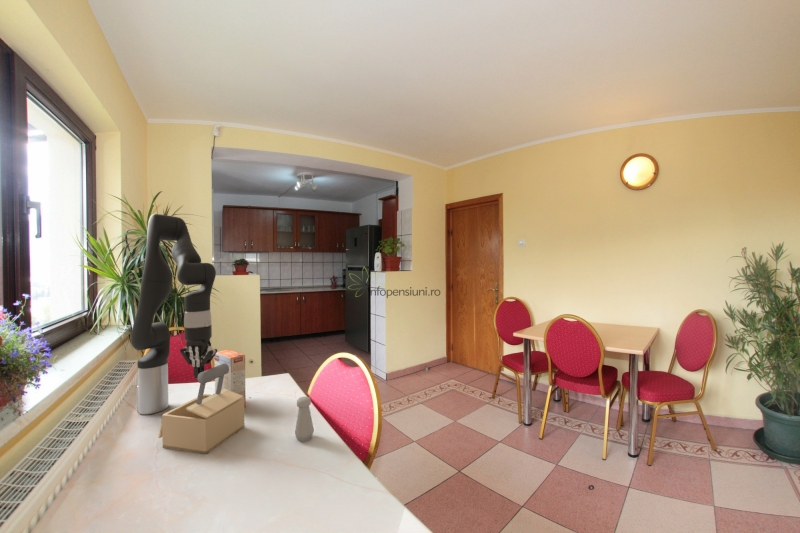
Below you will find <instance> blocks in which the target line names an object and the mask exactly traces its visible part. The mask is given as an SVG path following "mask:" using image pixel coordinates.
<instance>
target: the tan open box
mask: <svg viewBox="0 0 800 533" xmlns="http://www.w3.org/2000/svg"><path fill="white" fill-rule="evenodd" d="M211 395H212V394H210V393H209V394H208V393H207V394H206V393H204V394H203V399H205V398H207V397H209V396H211ZM197 398H198V396H196V397H195V398H193V399H190V400H189V401H187V402H185V403H183V404H181V405H178V406H177V407H175V408H173V409H170V410H168V411H167V412H164V413H163V414H162V415H161V424H160V428H159V432H158V439H161V438H162V448H164V449H171V450H176V451H181V452H182V451H183V452H188V453H189V452H190V453H194V454H195V453H196V454H203V455H207V454H209V453H211V451H213V450H214V449H215V448H217V447H219V446H220V445H221V444H223V443H224V442H225V441H226V440H228V439H229V438H230V439H231V437H233V436H234V435H235V434H237V433H238V432H239V431H241V430H242V429H245V408H244V398H241V399H240V400H238V401H236V402H235V403H233V404H231V405H230V406H228V407H226V408H224V409H223V410H221V411H219V412H218V413H216V414H214V415H212V416H211V417H209V418H207V419H206V418H204V417H202V416H199V415H197V414H195V413H192V412H190V411H188V410H186V408H187V407H189V406H191V405H193V404H195V403H197ZM203 399H202V400H203Z"/></svg>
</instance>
